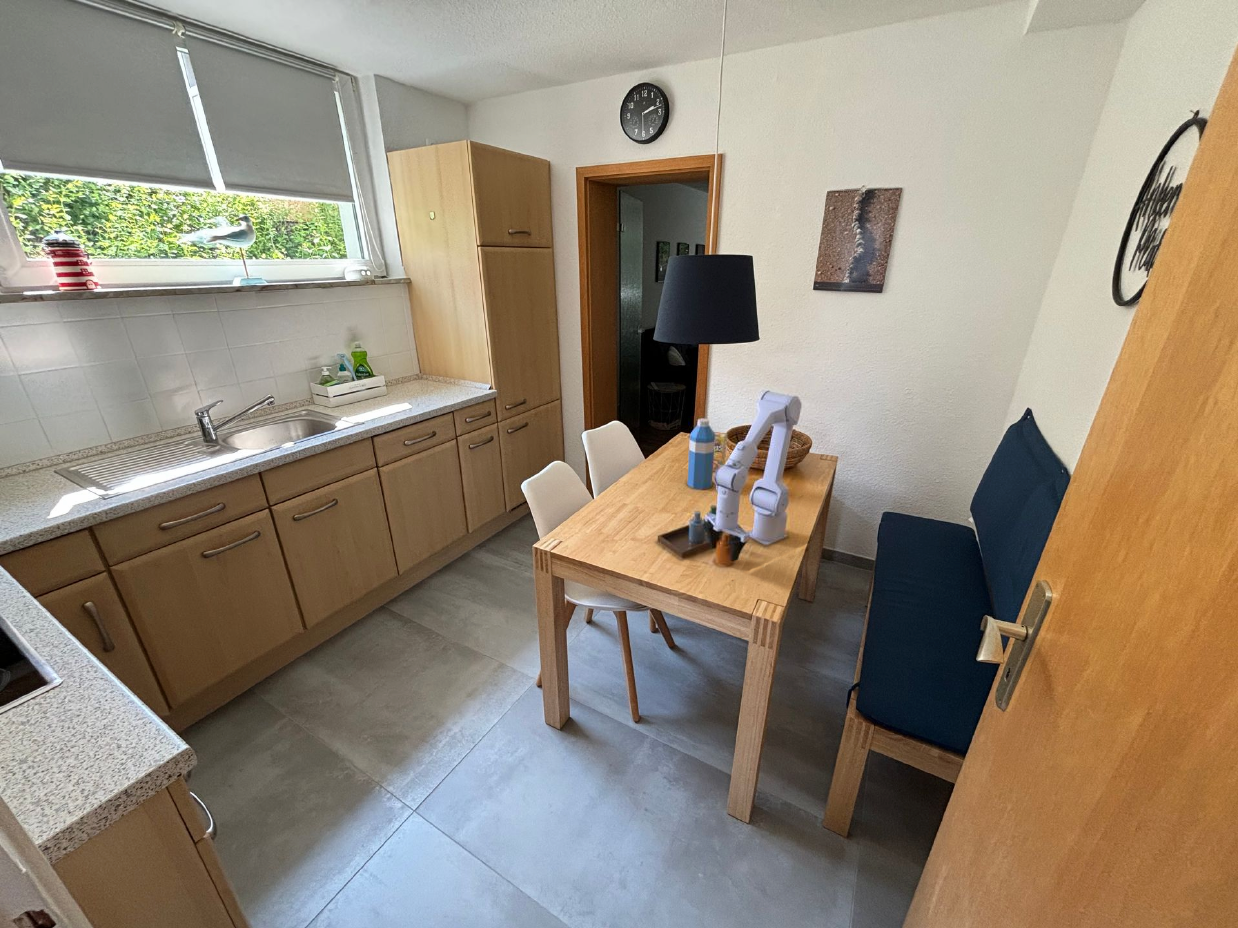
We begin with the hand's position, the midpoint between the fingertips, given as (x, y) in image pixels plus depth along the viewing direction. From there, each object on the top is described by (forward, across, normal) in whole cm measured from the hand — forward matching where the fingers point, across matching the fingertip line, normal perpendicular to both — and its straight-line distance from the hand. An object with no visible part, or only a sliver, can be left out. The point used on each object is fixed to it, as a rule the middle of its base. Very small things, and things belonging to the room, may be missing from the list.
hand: (724, 553), depth 136 cm
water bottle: (+3, -43, +30) cm, 53 cm away
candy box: (+3, -51, +44) cm, 67 cm away
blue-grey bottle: (+2, -13, +2) cm, 13 cm away
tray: (+3, -13, +2) cm, 13 cm away
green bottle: (+2, -13, +8) cm, 15 cm away
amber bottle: (+3, 0, 0) cm, 3 cm away
